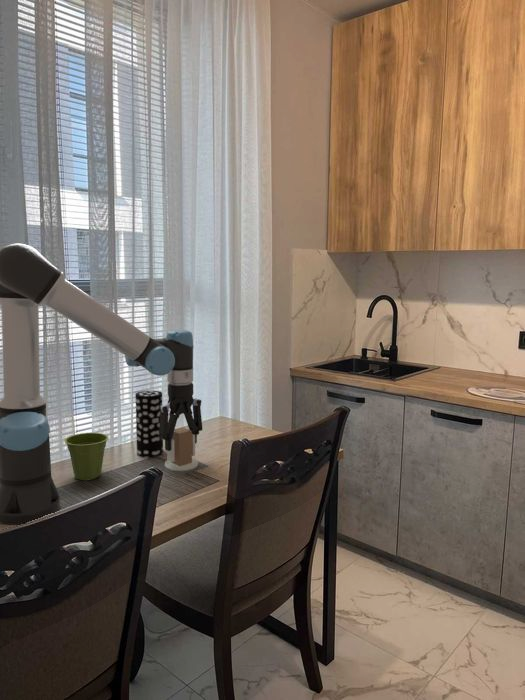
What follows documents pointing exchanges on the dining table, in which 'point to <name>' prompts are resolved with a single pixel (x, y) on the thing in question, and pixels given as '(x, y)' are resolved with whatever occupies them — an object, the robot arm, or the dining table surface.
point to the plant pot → (87, 454)
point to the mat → (162, 466)
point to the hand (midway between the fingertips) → (181, 457)
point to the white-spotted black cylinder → (148, 424)
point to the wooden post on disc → (182, 452)
